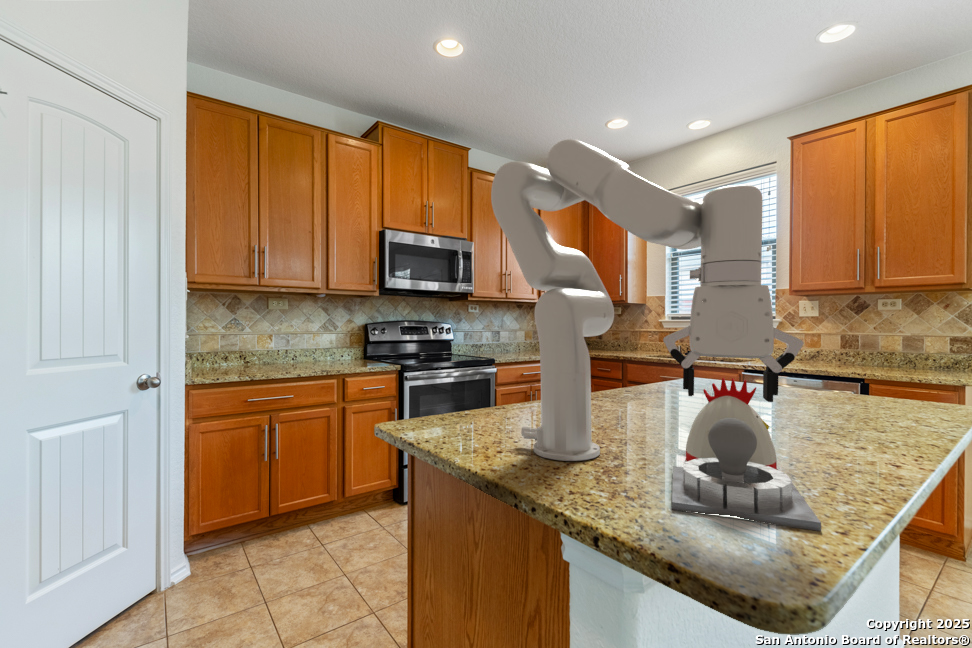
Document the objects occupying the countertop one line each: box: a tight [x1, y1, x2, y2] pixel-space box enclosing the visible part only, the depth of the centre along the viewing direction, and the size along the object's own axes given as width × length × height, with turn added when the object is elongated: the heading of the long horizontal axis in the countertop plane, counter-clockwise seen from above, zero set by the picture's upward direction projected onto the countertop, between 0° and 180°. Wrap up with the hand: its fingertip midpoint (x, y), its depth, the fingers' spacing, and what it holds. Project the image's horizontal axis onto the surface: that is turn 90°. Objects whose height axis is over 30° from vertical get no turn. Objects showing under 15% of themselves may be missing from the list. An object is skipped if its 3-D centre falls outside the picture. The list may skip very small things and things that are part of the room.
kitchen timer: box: [685, 377, 778, 470], centre depth 77 cm, size 14×14×15 cm
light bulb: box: [708, 418, 757, 483], centre depth 62 cm, size 6×6×10 cm
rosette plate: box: [671, 458, 822, 532], centre depth 61 cm, size 16×16×4 cm
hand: (728, 397), depth 62 cm, fingers open, 9 cm apart
